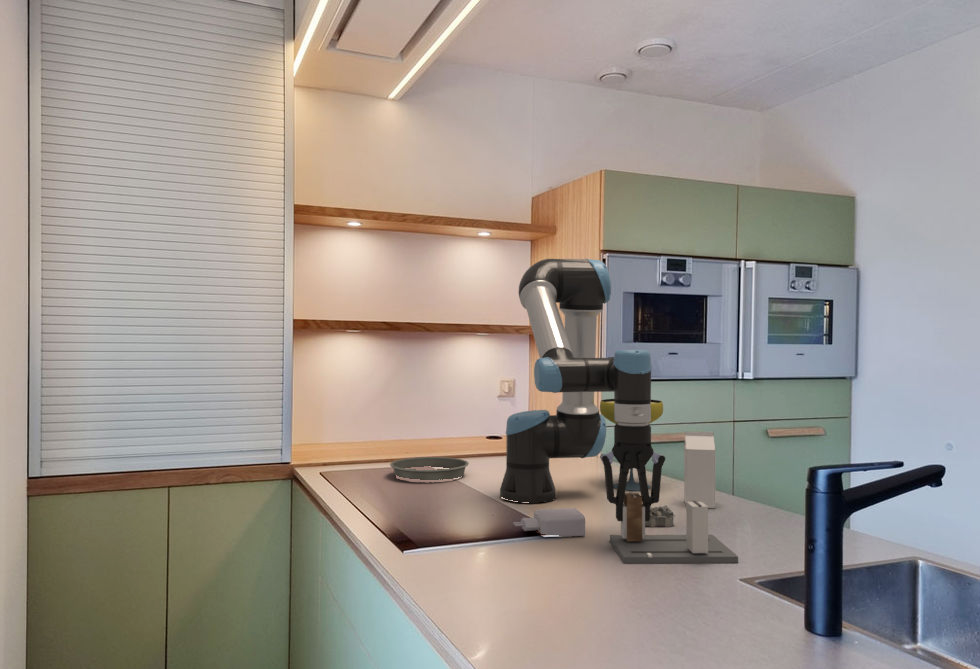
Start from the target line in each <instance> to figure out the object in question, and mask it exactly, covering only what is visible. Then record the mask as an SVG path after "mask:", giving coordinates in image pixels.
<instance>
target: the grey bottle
mask: <svg viewBox="0 0 980 669" xmlns="http://www.w3.org/2000/svg"><path fill="white" fill-rule="evenodd" d="M512 523H513V525H514V527H522V530H523V529H524V530H523V531H524V532H528V531H529V532H531V531H536V530H538V531H539V532H540V533H541V534H546V535H559V536H562V537H561V538H573V537H572V536H583V537H586V517H585V515H584V514H583V513H582V512H581V511H580V510H579V509H577V508H576V507H565V508H563V507H560V508H559V507H558V508H539V509H538V508H537V509H536V510H534V511H533V517H522V518H521V519H520V521H514V522H512Z"/></svg>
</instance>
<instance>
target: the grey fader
mask: <svg viewBox="0 0 980 669" xmlns="http://www.w3.org/2000/svg"><path fill="white" fill-rule="evenodd" d="M685 506H686V535H687V548H688V549H689V550H690V551H691V552H692V553H708V535H709V508H708V506H706V505H705V504H704V503H702V502H697V501H695V500H693V502H686V504H685Z"/></svg>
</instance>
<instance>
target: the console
mask: <svg viewBox="0 0 980 669" xmlns="http://www.w3.org/2000/svg"><path fill="white" fill-rule="evenodd" d="M609 542H610V543H611V544H612V547H613V548H614V549H615V551H616V553H617V554H618V555H619V557H620V559H621V561H622V562H623V564H739V556H738V555H737V554H736V553H735V552H733V550H731V549H730V548H729V547H728V546H727V545H725V544H724V543H723V542H722V541H721V540H720V539H718V537H716V536H715V535H714V534H708V553H692V552H691V551H690V550H689V549H688V548H687V534H645V538H642V541H627V540H626V538H623V537H622V536H621V534H610V535H609Z"/></svg>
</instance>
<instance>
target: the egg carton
mask: <svg viewBox="0 0 980 669" xmlns="http://www.w3.org/2000/svg"><path fill="white" fill-rule="evenodd" d="M675 517H676V515H675V514H674V512H673V511H672V510H671V508H669V507H668V505H663V506H654V507H652V505H651V506H650V520H649V521H645V527H650V528H654V527H655V528H656V527H658V526H662V527H666V528H669V527H671V526H674V518H675Z"/></svg>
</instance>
